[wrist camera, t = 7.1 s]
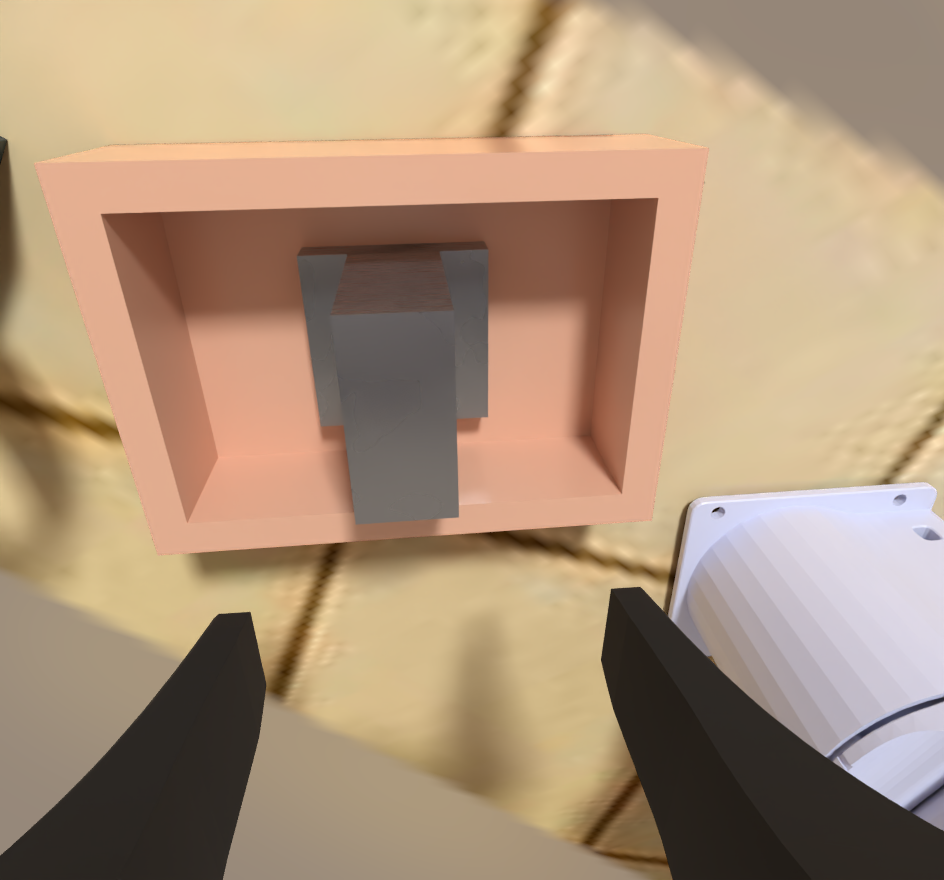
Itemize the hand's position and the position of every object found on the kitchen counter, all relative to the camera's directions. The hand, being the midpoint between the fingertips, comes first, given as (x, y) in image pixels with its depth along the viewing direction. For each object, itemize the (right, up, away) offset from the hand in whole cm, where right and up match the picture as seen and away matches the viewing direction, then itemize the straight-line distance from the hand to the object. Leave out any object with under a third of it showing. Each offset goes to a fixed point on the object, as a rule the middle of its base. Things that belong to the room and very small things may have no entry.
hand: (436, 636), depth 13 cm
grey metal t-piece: (-1, +7, +6) cm, 9 cm away
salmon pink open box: (-1, +8, +6) cm, 10 cm away
